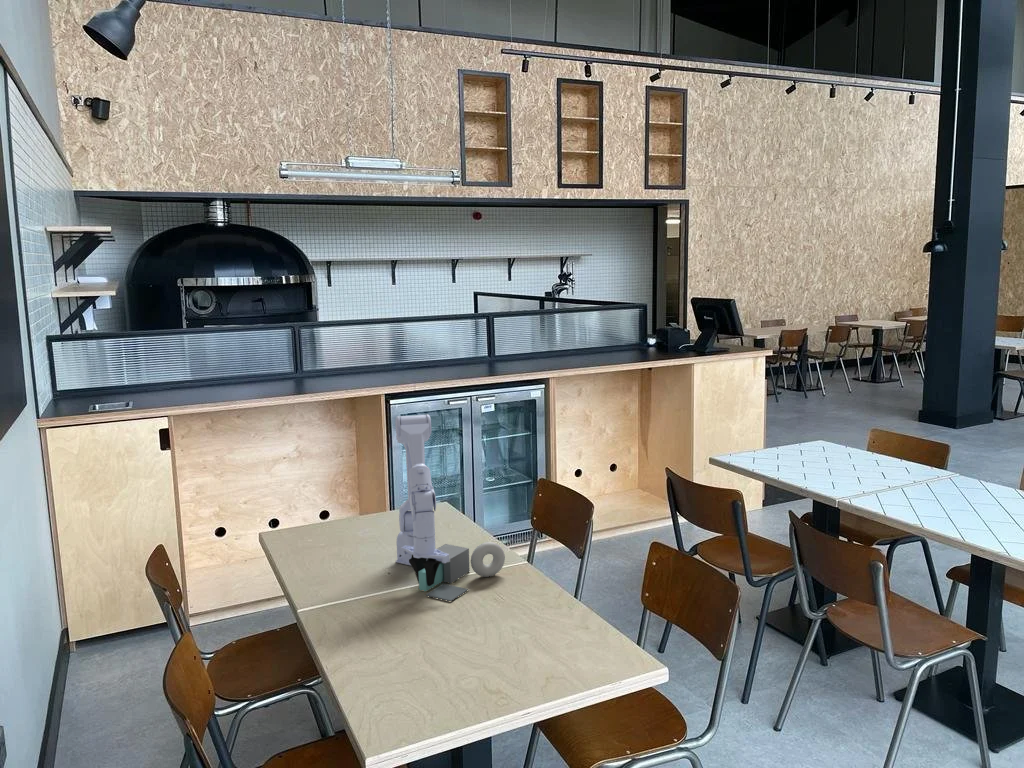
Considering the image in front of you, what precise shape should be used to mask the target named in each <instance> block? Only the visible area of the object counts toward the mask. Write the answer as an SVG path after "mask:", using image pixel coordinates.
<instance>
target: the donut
mask: <svg viewBox="0 0 1024 768" xmlns="http://www.w3.org/2000/svg"><path fill="white" fill-rule="evenodd" d="M487 555H492V561H491V562H490V563H488V564H486V563H484V561H483V560H484V558H485V557H486V556H487ZM505 562H506V555H505V551H504V549H503V547H502V546H501V545H500V544H498V543H497V542H494V541H485V542H482V543H480V544H479V545H477V546H476V547H475V549H473V552H472V554H471V556H470V566H471V569H472V570H473V572H474V573H476V575H477V576H479V577H483V578H486V577H487V578H489V576H490V577H493V576H495V575H497V574H498V573H500V571H501V570H502V568H503V567H504V566H505V565H504V564H505Z"/></svg>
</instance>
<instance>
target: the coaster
mask: <svg viewBox="0 0 1024 768" xmlns="http://www.w3.org/2000/svg"><path fill="white" fill-rule="evenodd" d="M467 590H468V591H469V588H464V587H462V586H457V585H456V586H455V585H452V584H449V583H441V584H439V586H437V587H434V589H432V590H431V591H429V592H428V593H427V592H426V594H425V597H426V596H429V597H428V598H430V597H434V598H438V599H442V600H447V601H452V600H454V599H455V598H457V597H458V596H460V595H462V594H463V593H465V592H466V591H467ZM466 593H467V592H466ZM466 593H465V594H466ZM463 595H464V594H463ZM463 595H462V596H463ZM460 597H461V596H460ZM434 598H433V599H434ZM438 599H437V600H438ZM457 599H458V598H457ZM442 600H441V601H442ZM447 601H446V602H447ZM454 601H455V600H454Z"/></svg>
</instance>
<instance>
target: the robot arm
mask: <svg viewBox="0 0 1024 768" xmlns="http://www.w3.org/2000/svg"><path fill="white" fill-rule="evenodd" d="M394 420H395V421H394V422H395V434H396V441H397V443H398V444H401V445H403V447H404V449H405V462H406V479H407V483H406V484H407V499H406V500H405V501H404V502H403V503H402V504H401V505H400V506H399V508H398V509H399V510H398V512H399V514H398V518H399V519H398V522H399V532H398V535H396V560H395V563H398V564H402V565H407V566H411V567H412V570H413V571H414V574H415V576H416V579H417V583H418V584H419V574H418V571H420V570H422V569H424V568H425V571H426V579H427V585H428V586H431V585H432V584H434V580H435V575H436V572H437V569H438V567H439V565H440V563H441V562H442V563H447V562H448V561H449V554H447V553H444V552H442V551H440V550H437V548H436V527H435V526H436V524H435V523H436V522H435V512H436V509H437V498H436V497H437V496H436V492H435V488H434V486H433V484H432V477H431V468H430V467H428V466H427V465H426V456H425V455H426V454H425V452H426V451H425V450H426V449H425V443H426V442H427V441H429V439H430V437H431V435H432V418H431V415H430V414H429V413H426V414H418V415H417V414H415V415H401V416H400V415H397V416H396V417H395V419H394ZM427 559H428V560H427Z"/></svg>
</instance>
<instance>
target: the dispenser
mask: <svg viewBox="0 0 1024 768" xmlns="http://www.w3.org/2000/svg"><path fill="white" fill-rule="evenodd" d="M436 549H437V550H440V551H442V552H444V553H447V554H449V561H448V562H447V563H444V581H443V582H444V583H446V582H449V583H448V584H450V583H451V584H453V583H454V582H455V580H456V581H458V580H459V579H461V578H462V577H461V576H463V575H464V574H466V573H467V572H469V571H470V548H468V547H464V546H459V545H454V544H448V543H445V544H443V545H440V546H439V547H437V548H436ZM427 560H428V559H427ZM470 572H471V571H470ZM470 572H469V573H470ZM467 574H468V573H467ZM467 574H466V575H467ZM464 576H465V575H464ZM464 576H463V577H464ZM460 577H461V578H460ZM458 578H459V579H458ZM457 579H458V580H457ZM453 581H454V582H453ZM452 582H453V583H452Z"/></svg>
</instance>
